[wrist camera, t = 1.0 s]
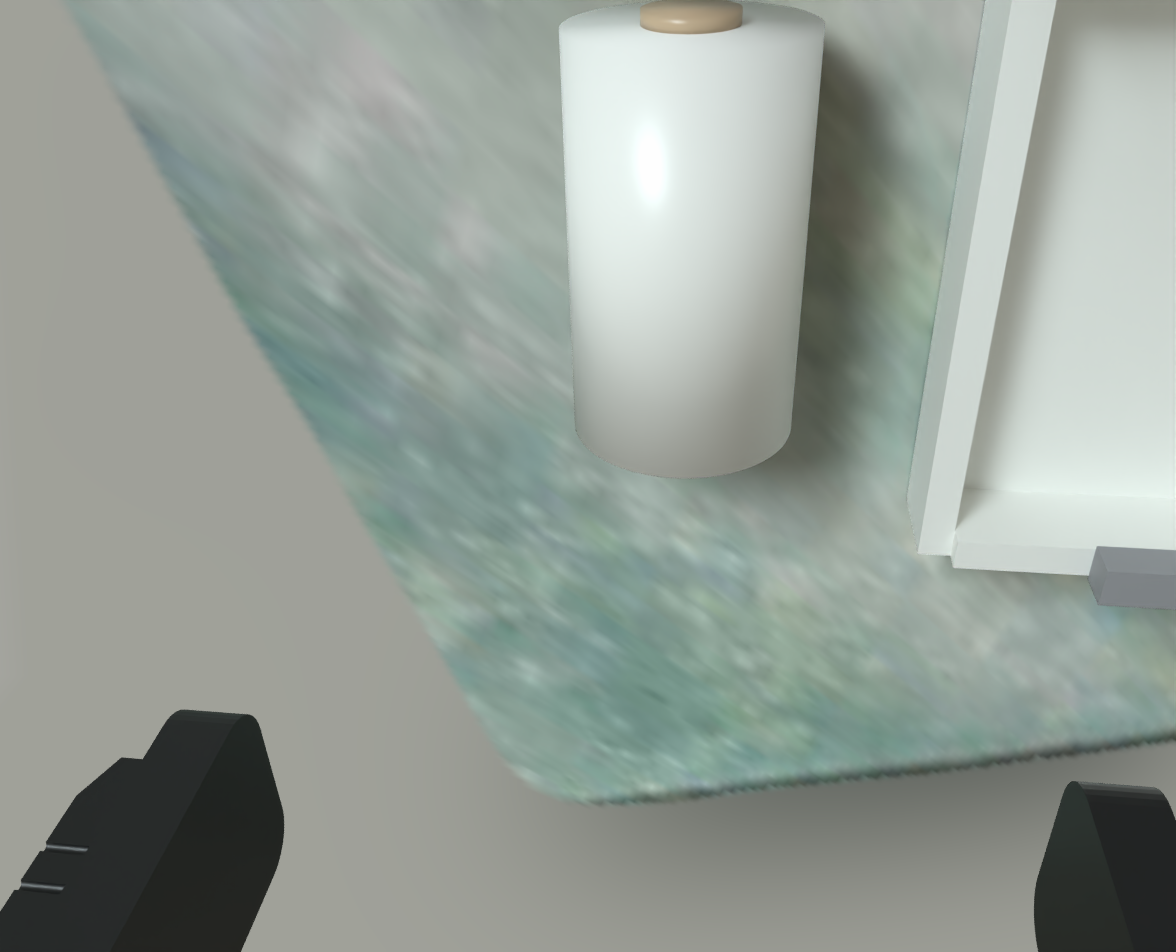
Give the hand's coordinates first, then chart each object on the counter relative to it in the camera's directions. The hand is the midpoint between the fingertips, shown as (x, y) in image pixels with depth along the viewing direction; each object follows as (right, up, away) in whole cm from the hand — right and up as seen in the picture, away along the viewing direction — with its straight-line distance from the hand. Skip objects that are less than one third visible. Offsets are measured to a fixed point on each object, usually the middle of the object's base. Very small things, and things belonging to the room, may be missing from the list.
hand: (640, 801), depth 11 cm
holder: (+13, +8, +14) cm, 21 cm away
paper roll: (+2, +10, +15) cm, 18 cm away
